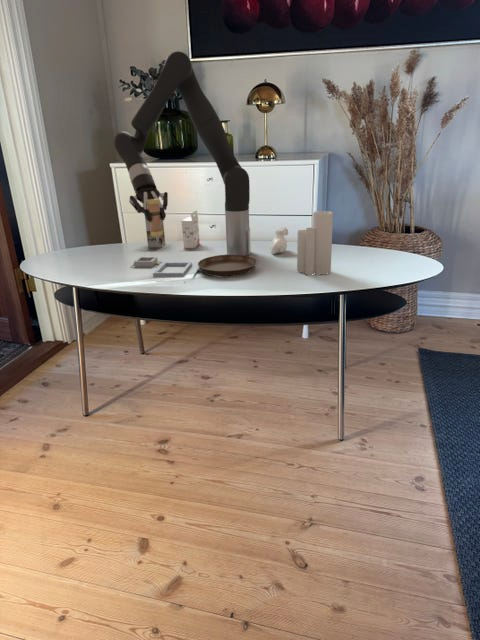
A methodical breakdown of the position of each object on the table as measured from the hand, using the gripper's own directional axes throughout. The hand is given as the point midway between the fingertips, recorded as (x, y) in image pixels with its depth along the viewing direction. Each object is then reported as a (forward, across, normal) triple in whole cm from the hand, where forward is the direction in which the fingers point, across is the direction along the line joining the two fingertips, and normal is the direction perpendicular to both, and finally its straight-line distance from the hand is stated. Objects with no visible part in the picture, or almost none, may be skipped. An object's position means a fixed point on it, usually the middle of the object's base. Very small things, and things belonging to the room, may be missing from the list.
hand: (157, 219), depth 162 cm
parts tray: (+17, +2, +10) cm, 19 cm away
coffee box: (-18, +12, +44) cm, 49 cm away
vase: (+35, +44, -7) cm, 56 cm away
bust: (+13, +49, +15) cm, 53 cm away
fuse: (+3, 0, +5) cm, 6 cm away
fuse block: (+7, -3, +19) cm, 21 cm away
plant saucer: (+21, +20, +7) cm, 30 cm away
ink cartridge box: (-10, +24, +37) cm, 45 cm away
